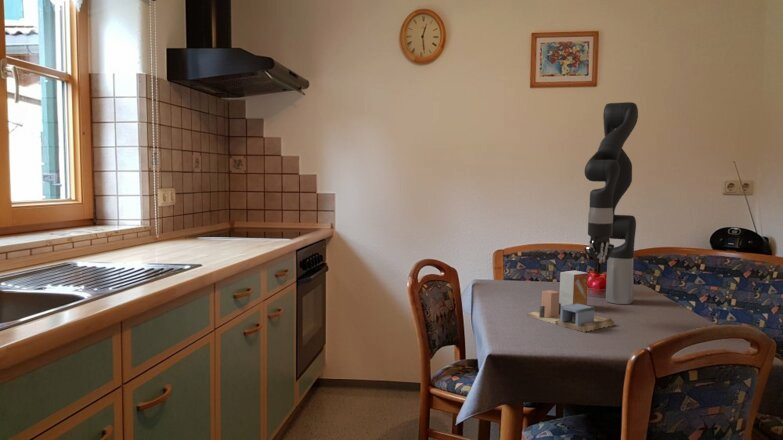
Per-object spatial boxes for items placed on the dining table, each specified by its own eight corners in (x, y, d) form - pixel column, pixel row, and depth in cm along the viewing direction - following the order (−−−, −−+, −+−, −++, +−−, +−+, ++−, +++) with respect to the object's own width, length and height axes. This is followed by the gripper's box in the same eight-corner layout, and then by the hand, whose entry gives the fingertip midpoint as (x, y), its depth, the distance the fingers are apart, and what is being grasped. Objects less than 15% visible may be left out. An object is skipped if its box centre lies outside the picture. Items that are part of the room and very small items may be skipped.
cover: (576, 318, 180) (577, 303, 180) (593, 322, 175) (594, 307, 174) (560, 321, 176) (560, 306, 176) (577, 326, 170) (578, 310, 170)
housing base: (587, 318, 186) (588, 305, 186) (613, 325, 178) (614, 311, 178) (557, 324, 178) (558, 310, 178) (584, 332, 170) (584, 317, 169)
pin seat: (545, 312, 194) (545, 299, 194) (574, 320, 184) (574, 306, 184) (526, 316, 189) (526, 303, 188) (554, 324, 179) (555, 310, 178)
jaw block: (549, 313, 189) (550, 290, 188) (558, 315, 186) (559, 292, 185) (541, 314, 187) (541, 291, 186) (550, 317, 183) (551, 293, 183)
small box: (572, 310, 197) (574, 274, 196) (558, 307, 203) (559, 271, 202) (587, 308, 202) (588, 272, 201) (573, 304, 207) (574, 270, 206)
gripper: (597, 223, 174) (595, 278, 176) (623, 221, 181) (620, 273, 183) (577, 221, 180) (576, 274, 182) (602, 219, 187) (601, 269, 189)
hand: (598, 273), depth 183 cm, fingers closed
